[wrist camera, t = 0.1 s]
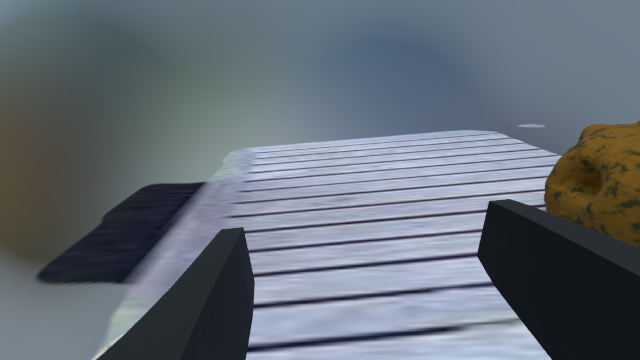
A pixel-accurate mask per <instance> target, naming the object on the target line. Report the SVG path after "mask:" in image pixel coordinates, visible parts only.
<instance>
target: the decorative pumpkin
mask: <svg viewBox="0 0 640 360" xmlns="http://www.w3.org/2000/svg"><path fill="white" fill-rule="evenodd" d="M544 201H545V204H546V209H547V212H548V213H550V214H553V215H555V216H558V217H561V218H563V219H566V220H568V221H571V222H573V223H576V224H578V225H581V226H584V227H586V228H589V229H591V230H594V231H596V232H599V233H602V234H604V235H607V236H609V237H612V238H615V239H618V240H620V241H623V242H626V243H628V244H631V245H634V246H637V247H639V248H640V121H638V122H637V123H634V124H625V125H605V124H595V125H591V126H589V127H586V128H585V129H584V130H583V131H582V133H581V136H580V138H579V141H578V143H577V144H576V145H575V146H573V147H572V148H570V149H569V150H568V151H567V152H566V153H565V154H563V155H562V157H561V158H560V159H559V160H558V162H557V163H556V165H555V166H554V168H553V170H552V171H551V173H550V175H549V176H548V178H547V180H546V183H545V194H544Z"/></svg>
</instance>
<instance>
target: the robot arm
mask: <svg viewBox="0 0 640 360" xmlns="http://www.w3.org/2000/svg"><path fill="white" fill-rule="evenodd" d="M477 256H478V258H479V260H480V262H481V264H482V265H483V267H484V269H485V271H486V273H487V274H488V276H489V277H490V279H491V281H492V282H493V284H494V286H495V287H496V288H497V290H498V291H499V292H500V294H501V295H502V296H503V298H504V299H505V300H506V301H507V303H508V304H509V305H510V307H511V308H512V309H513V311H514V312H515V313H516V314H517V316H518V317H519V318H520V319H521V321H522V322H523V323H524V325H525V326H526V327H527V328H528V330H529V331H530V332H531V333H532V335H533V336H534V337H535V339H536V340H537V341H538V342H539V344H540V345H541V346H542V347H543V349H544V350H545V351H546V353H547V354H548V355H549V356H550V358H551V359H552V360H640V248H639V247H637V246H634V245H631V244H628V243H626V242H623V241H620V240H618V239H615V238H612V237H609V236H607V235H604V234H602V233H599V232H596V231H594V230H591V229H589V228H586V227H584V226H581V225H578V224H576V223H573V222H571V221H568V220H566V219H563V218H561V217H558V216H555V215H553V214H550V213H548V212H545V211H543V210H540V209H537V208H534V207H532V206H529V205H526V204H523V203H520V202H517V201H514V200H510V199H506V200H496V201H489V204H488V208H487V213H486V217H485V222H484V226H483V231H482V235H481V240H480V244H479V248H478V253H477ZM254 283H255V281H254V276H253V272H252V267H251V262H250V257H249V253H248V248H247V243H246V238H245V234H244V229H243V227H241V228H232V229H222V230H221V231H220V232H219V233H218V234H217V235H216V236H215V237H214V238H213V240H212V241H211V242H210V243H209V244H208V245H207V247H206V248H205V249H204V250H203V251H202V253H201V254H200V255H199V256H198V257H197V258H196V260H195V261H194V262H193V263H192V264H191V265H190V267H189V268H188V269H187V270H186V271H185V272H184V273H183V275H182V276H181V277H180V278H179V279H178V280H177V281H176V282H175V284H174V285H173V286H172V287H171V288H170V289H169V290H168V291H167V292H166V293H165V294H164V295H163V296H162V297H161V298H160V299H159V300H158V301H157V302H156V304H155V305H154V306H153V307H152V308H151V309H150V310H149V311H148V312H147V313H146V314H145V315H144V316H143V317H142V318H141V319H140V320H139V321H138V322H137V323H136V324H135V325H134V326H133V327H132V328H131V329H129V330H128V331H127V332H126V333H125V334H124V335H123V336H122V337H121V338H120V339H119V340H118V341H116V342H115V343H114V344H113V345H112V346H111V347H110V348H109V349H108V350H106V351H105V352H104V353H103V354H102V355H101V356H100V357H99V358H97V359H96V360H245V359H246V354H247V348H248V342H249V336H250V330H251V324H252V317H253V304H254Z"/></svg>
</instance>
